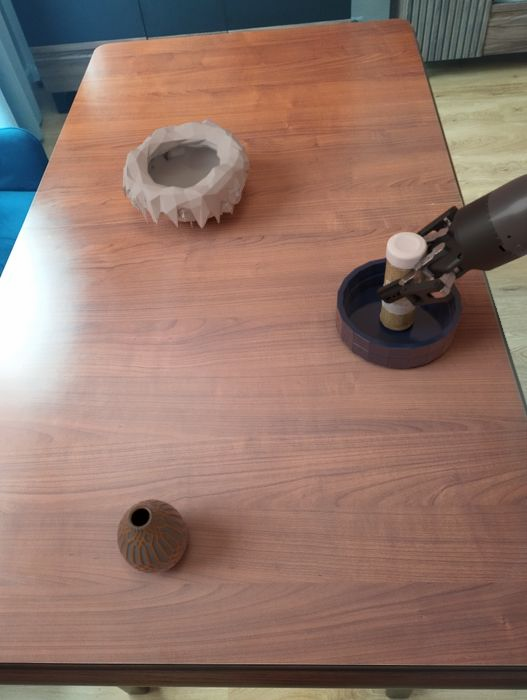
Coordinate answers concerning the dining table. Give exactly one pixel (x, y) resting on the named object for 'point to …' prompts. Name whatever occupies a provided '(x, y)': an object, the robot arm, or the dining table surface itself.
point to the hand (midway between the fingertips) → (386, 282)
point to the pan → (381, 342)
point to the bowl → (186, 173)
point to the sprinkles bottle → (400, 262)
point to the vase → (152, 536)
